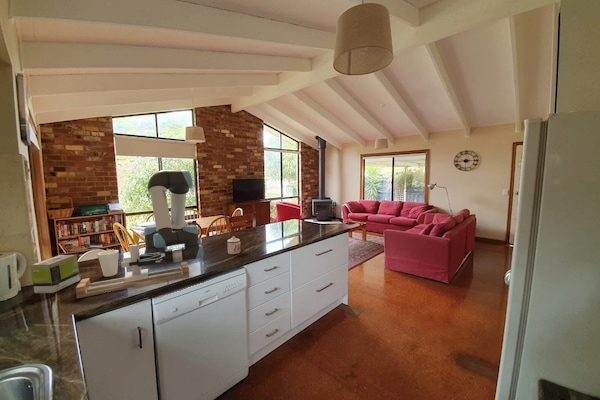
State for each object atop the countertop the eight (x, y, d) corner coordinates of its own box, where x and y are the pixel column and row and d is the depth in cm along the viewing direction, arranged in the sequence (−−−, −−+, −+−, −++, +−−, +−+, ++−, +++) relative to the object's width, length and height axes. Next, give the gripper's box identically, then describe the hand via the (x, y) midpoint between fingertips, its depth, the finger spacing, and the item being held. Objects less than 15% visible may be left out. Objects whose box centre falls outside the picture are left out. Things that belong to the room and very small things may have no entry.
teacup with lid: (235, 255, 177) (234, 238, 176) (224, 253, 180) (224, 237, 179) (245, 250, 188) (244, 234, 187) (235, 249, 191) (234, 233, 190)
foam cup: (118, 270, 153) (117, 248, 151) (122, 274, 146) (120, 252, 145) (99, 274, 146) (96, 252, 145) (101, 279, 139) (99, 256, 138)
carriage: (126, 275, 136) (123, 244, 134) (148, 272, 140) (145, 242, 139) (124, 282, 127) (121, 249, 125) (147, 278, 132) (145, 246, 130)
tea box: (62, 280, 138) (59, 254, 137) (80, 280, 138) (77, 254, 137) (33, 293, 123) (29, 264, 122) (53, 293, 123) (49, 264, 122)
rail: (83, 288, 128) (82, 278, 127) (187, 269, 151) (186, 261, 150) (76, 298, 117) (75, 288, 117) (189, 276, 141) (188, 267, 140)
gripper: (173, 267, 132) (120, 276, 121) (173, 257, 149) (126, 264, 138) (172, 253, 131) (118, 261, 121) (172, 244, 148) (125, 250, 137)
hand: (122, 262), depth 129 cm, fingers open, 6 cm apart
